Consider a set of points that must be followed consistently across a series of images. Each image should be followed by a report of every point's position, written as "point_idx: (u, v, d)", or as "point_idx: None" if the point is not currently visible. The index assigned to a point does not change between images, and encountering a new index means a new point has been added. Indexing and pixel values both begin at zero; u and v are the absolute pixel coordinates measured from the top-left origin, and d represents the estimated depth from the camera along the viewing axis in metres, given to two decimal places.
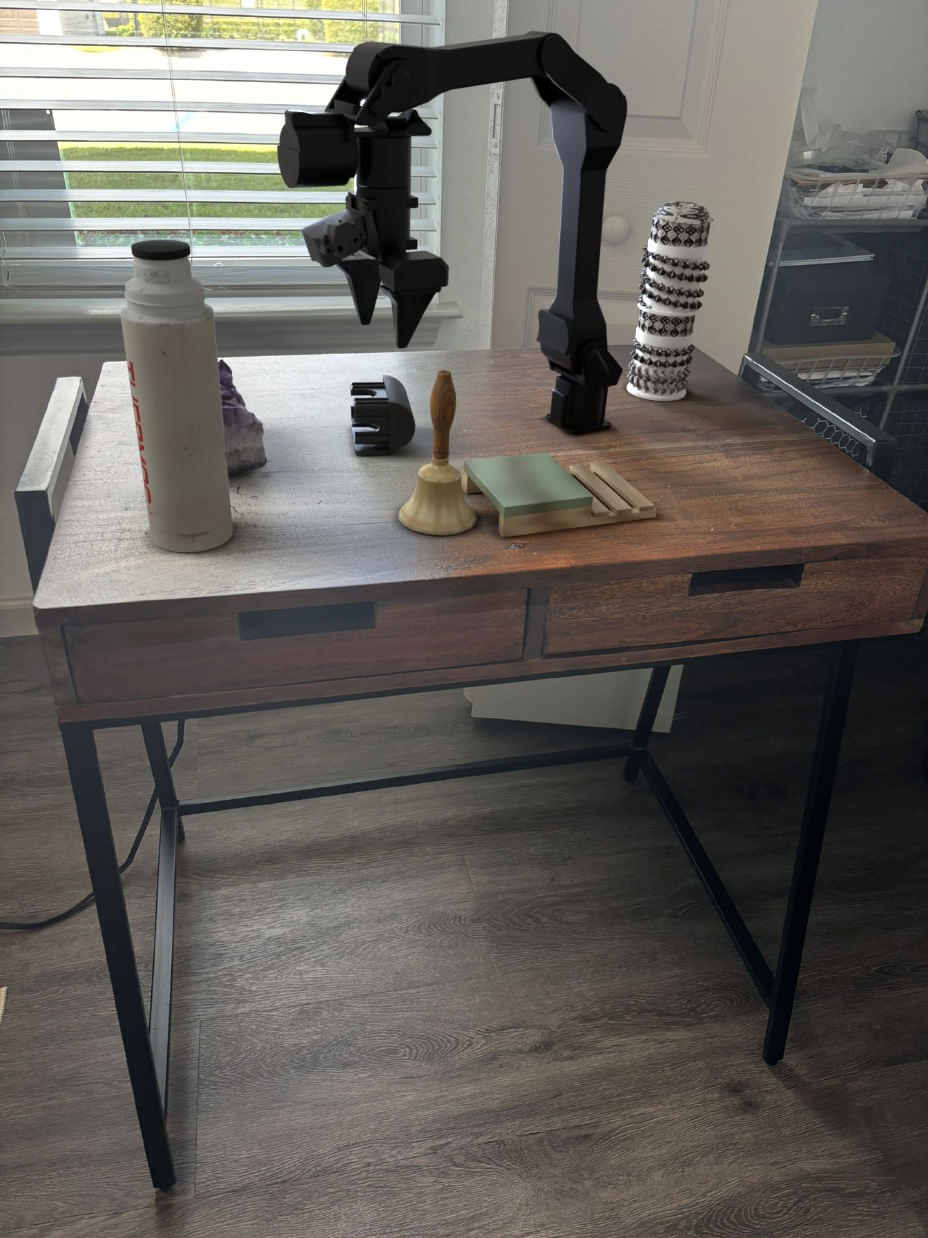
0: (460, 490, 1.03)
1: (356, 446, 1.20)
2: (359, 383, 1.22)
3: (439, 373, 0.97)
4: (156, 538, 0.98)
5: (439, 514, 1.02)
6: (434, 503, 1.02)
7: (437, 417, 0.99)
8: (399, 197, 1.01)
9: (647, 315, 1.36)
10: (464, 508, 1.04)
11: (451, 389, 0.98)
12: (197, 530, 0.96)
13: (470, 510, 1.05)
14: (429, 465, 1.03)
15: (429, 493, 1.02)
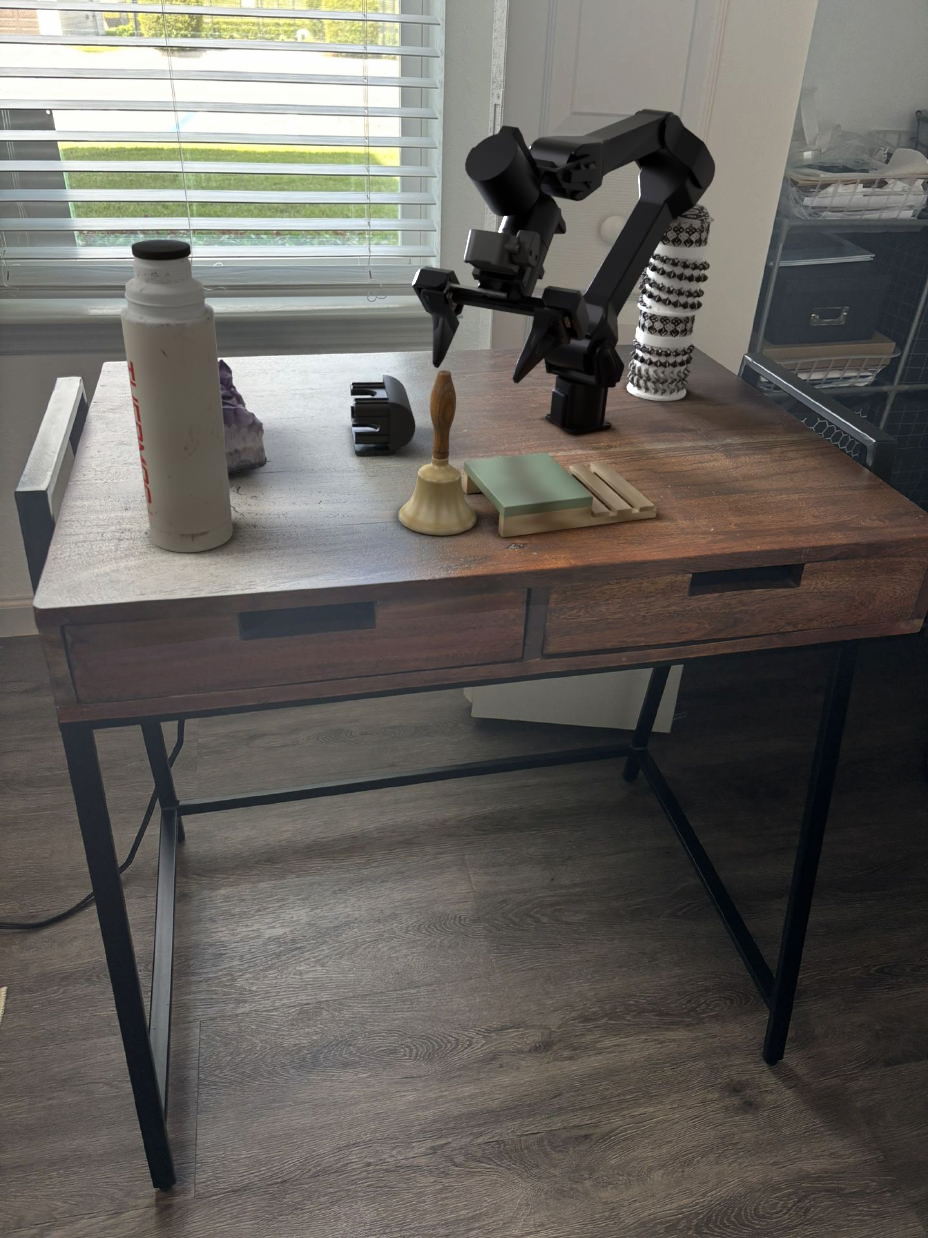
0: (460, 490, 1.03)
1: (356, 446, 1.20)
2: (359, 383, 1.22)
3: (439, 373, 0.97)
4: (156, 538, 0.98)
5: (439, 514, 1.02)
6: (434, 503, 1.02)
7: (437, 417, 0.99)
8: (544, 258, 1.07)
9: (647, 315, 1.36)
10: (464, 508, 1.04)
11: (451, 389, 0.98)
12: (197, 530, 0.96)
13: (470, 510, 1.05)
14: (429, 465, 1.03)
15: (429, 493, 1.02)
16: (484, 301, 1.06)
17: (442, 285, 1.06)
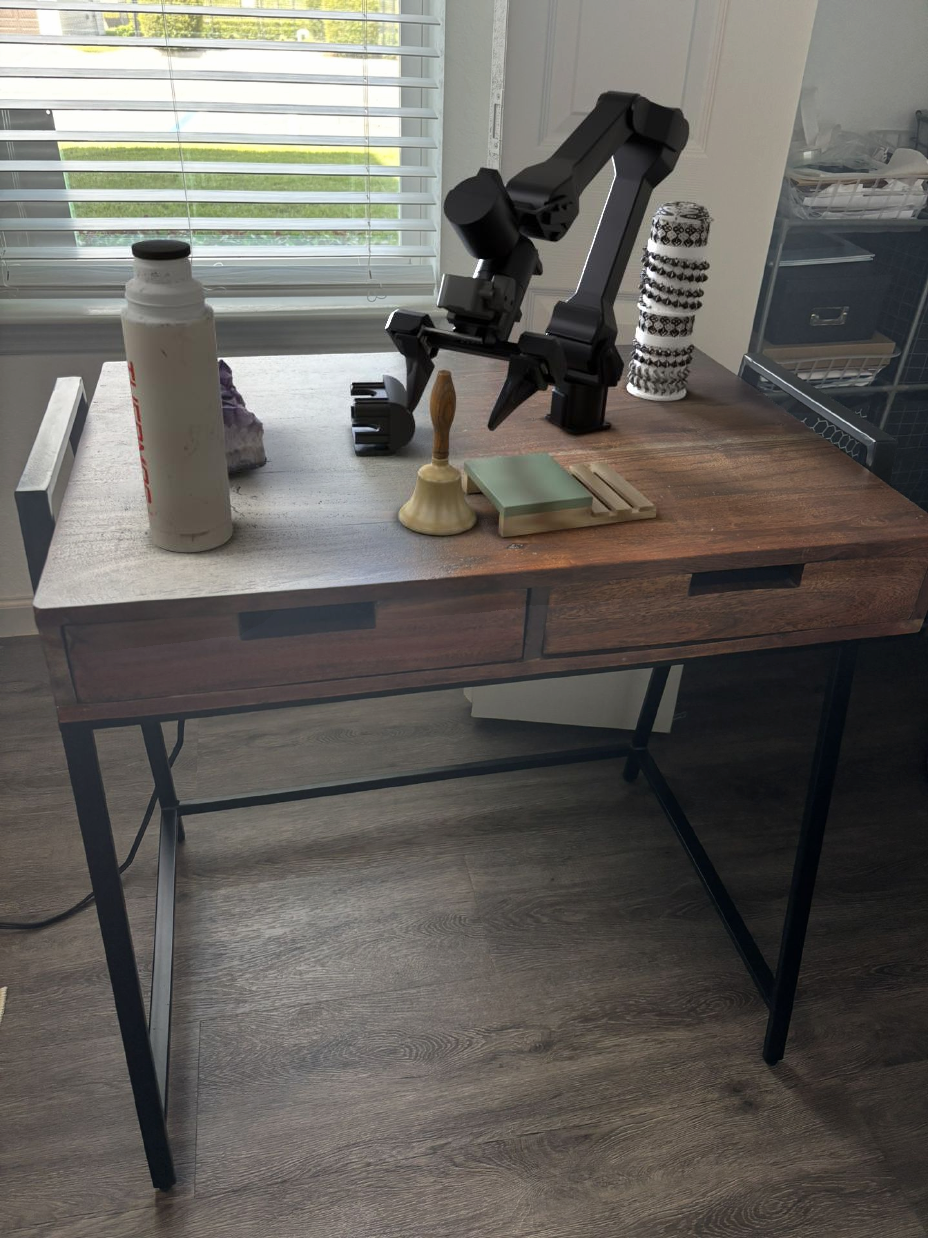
0: (460, 490, 1.03)
1: (356, 446, 1.20)
2: (359, 383, 1.22)
3: (439, 373, 0.97)
4: (156, 538, 0.98)
5: (439, 514, 1.02)
6: (434, 503, 1.02)
7: (437, 417, 0.99)
8: (521, 301, 1.04)
9: (647, 315, 1.36)
10: (464, 508, 1.04)
11: (451, 389, 0.98)
12: (197, 530, 0.96)
13: (470, 510, 1.05)
14: (429, 465, 1.03)
15: (429, 493, 1.02)
16: (459, 345, 1.04)
17: (416, 329, 1.03)
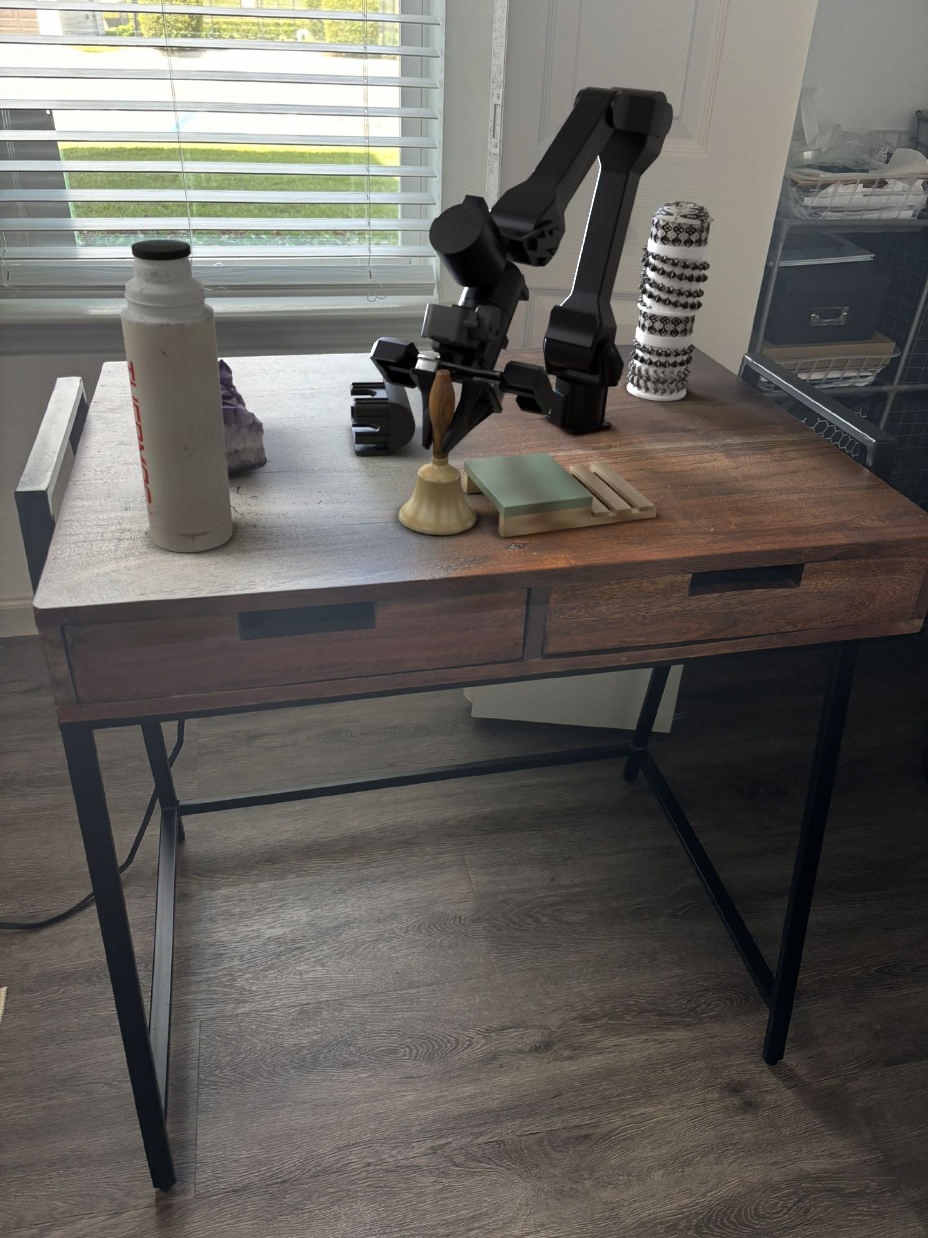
0: (460, 490, 1.03)
1: (356, 446, 1.20)
2: (359, 383, 1.22)
3: (438, 373, 0.97)
4: (156, 538, 0.98)
5: (439, 514, 1.02)
6: (433, 503, 1.02)
7: (436, 416, 0.99)
8: (507, 328, 1.02)
9: (647, 315, 1.36)
10: (464, 508, 1.04)
11: (450, 389, 0.98)
12: (197, 530, 0.96)
13: (470, 510, 1.05)
14: (429, 465, 1.03)
15: (429, 493, 1.02)
16: None
17: (400, 358, 1.01)
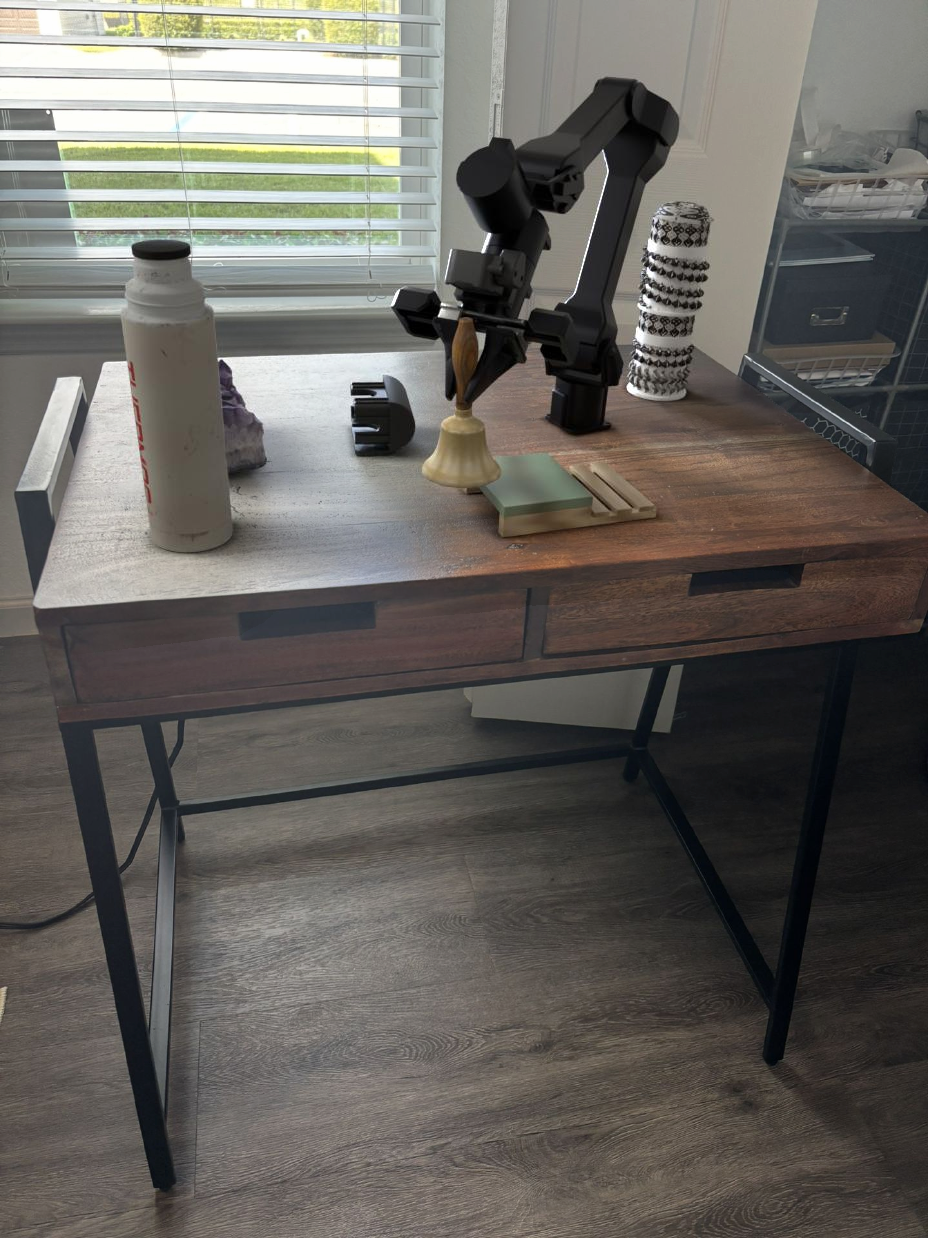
0: (484, 442, 1.02)
1: (356, 446, 1.20)
2: (359, 383, 1.22)
3: (461, 320, 0.95)
4: (156, 538, 0.98)
5: (464, 466, 1.01)
6: (457, 455, 1.01)
7: (459, 366, 0.97)
8: (531, 276, 1.01)
9: (647, 315, 1.36)
10: (488, 460, 1.02)
11: (473, 337, 0.96)
12: (197, 530, 0.96)
13: (495, 463, 1.04)
14: (452, 417, 1.01)
15: (453, 445, 1.00)
16: None
17: (423, 307, 0.99)
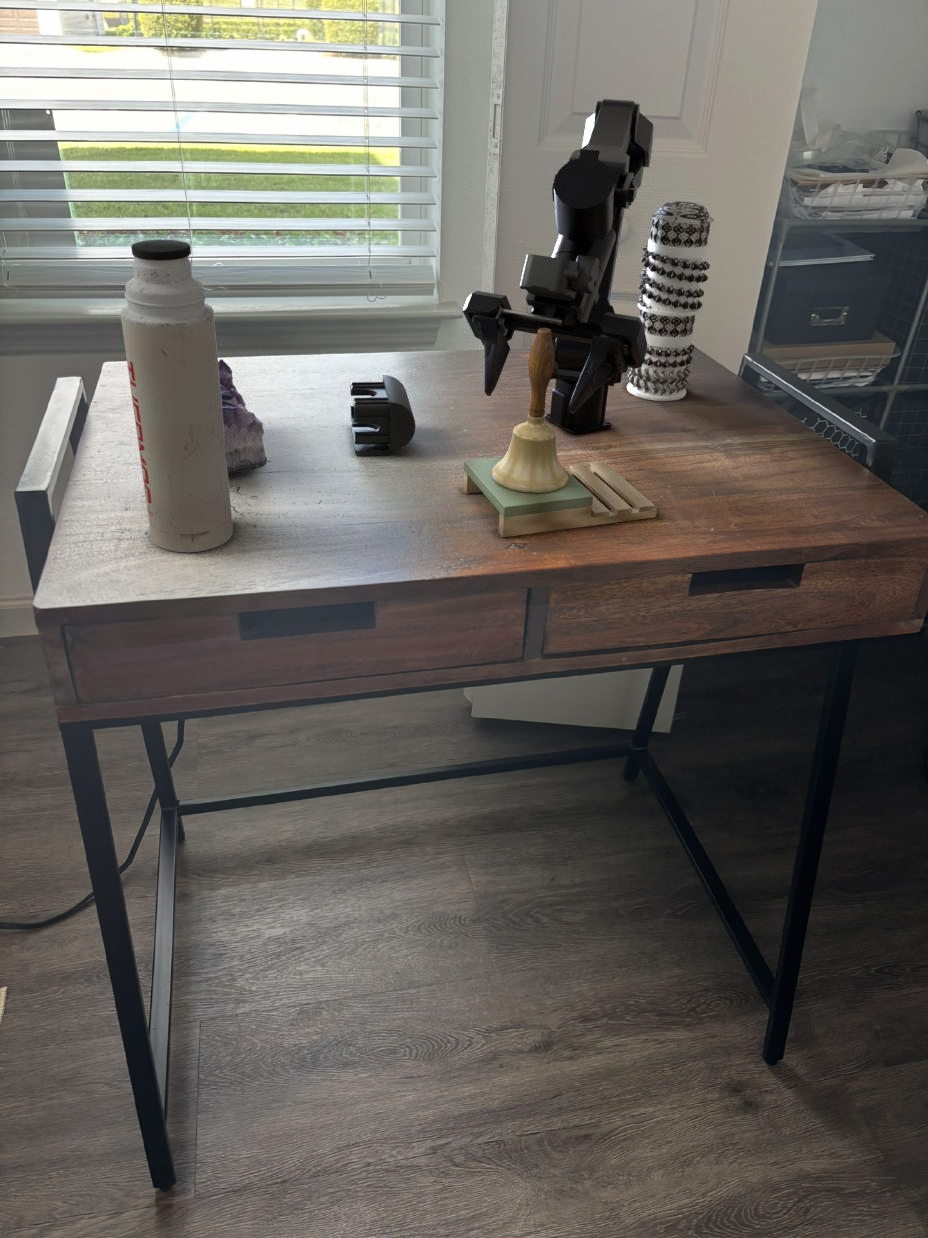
0: (554, 449, 1.05)
1: (356, 446, 1.20)
2: (359, 383, 1.22)
3: (539, 330, 0.98)
4: (156, 538, 0.98)
5: (534, 472, 1.04)
6: (529, 461, 1.04)
7: (535, 374, 1.00)
8: (599, 282, 1.03)
9: (647, 315, 1.36)
10: (557, 467, 1.05)
11: (551, 347, 0.99)
12: (197, 530, 0.96)
13: (562, 469, 1.07)
14: (524, 424, 1.04)
15: (524, 451, 1.03)
16: (537, 327, 1.03)
17: (495, 311, 1.02)
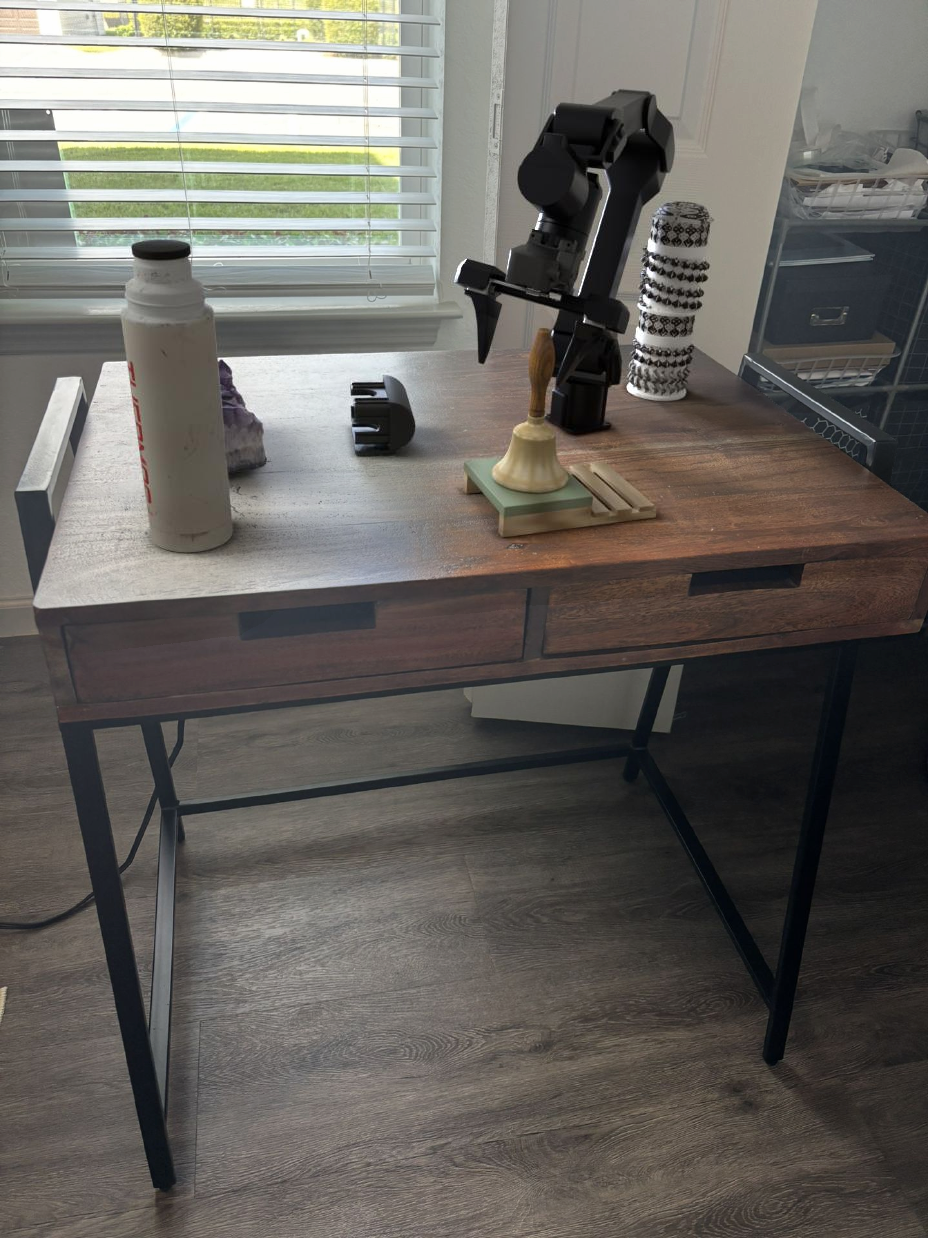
0: (554, 449, 1.05)
1: (356, 446, 1.20)
2: (359, 383, 1.22)
3: (540, 331, 0.98)
4: (156, 538, 0.98)
5: (534, 472, 1.04)
6: (529, 461, 1.04)
7: (536, 374, 1.00)
8: (585, 246, 1.06)
9: (647, 315, 1.36)
10: (557, 467, 1.05)
11: (551, 347, 0.99)
12: (197, 530, 0.96)
13: (562, 469, 1.07)
14: (524, 424, 1.04)
15: (525, 451, 1.03)
16: (526, 296, 1.08)
17: (484, 285, 1.07)
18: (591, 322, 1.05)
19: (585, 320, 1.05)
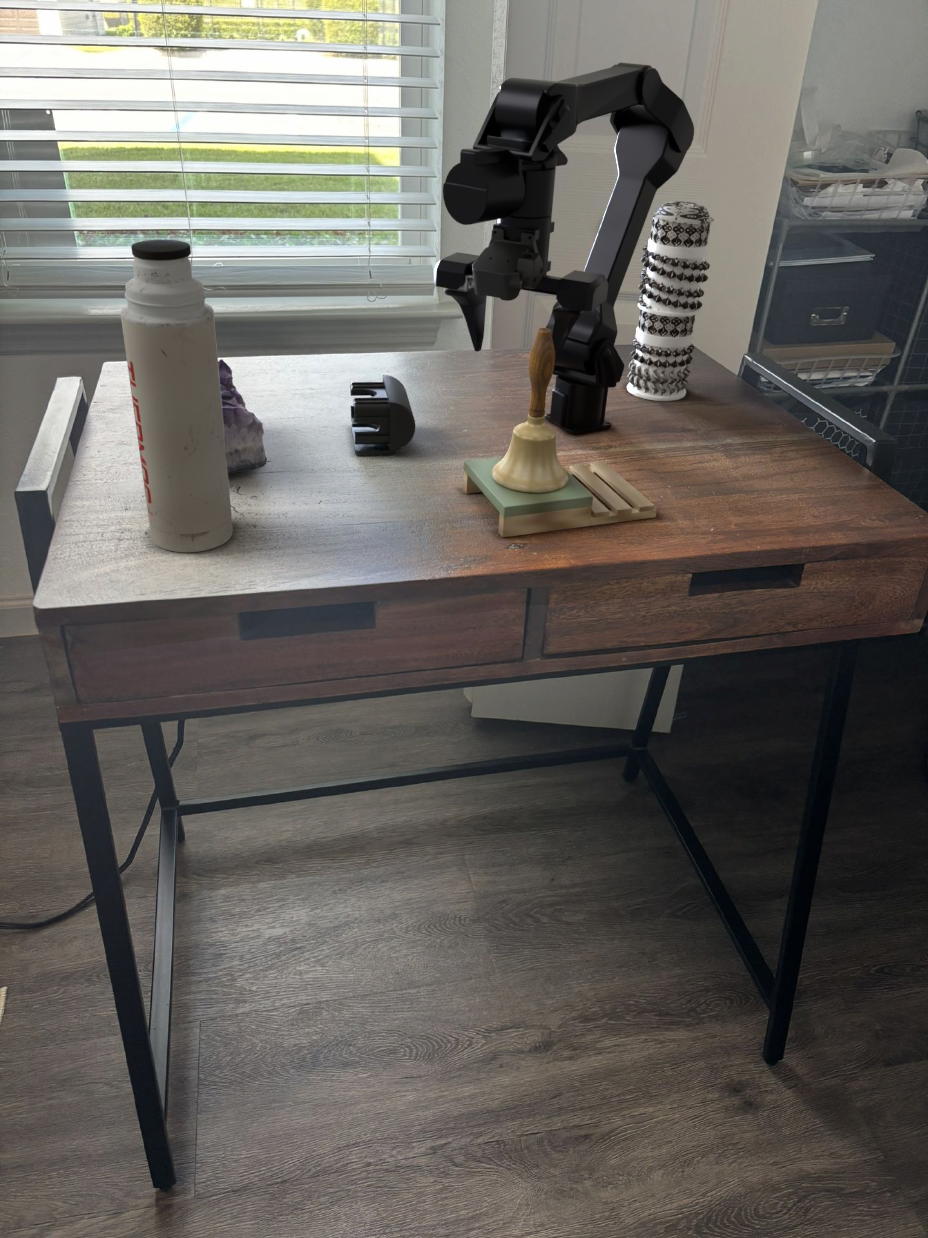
0: (554, 449, 1.05)
1: (356, 446, 1.20)
2: (359, 383, 1.22)
3: (540, 331, 0.98)
4: (156, 538, 0.98)
5: (534, 472, 1.04)
6: (529, 461, 1.04)
7: (536, 374, 1.00)
8: (550, 224, 1.06)
9: (647, 315, 1.36)
10: (557, 467, 1.05)
11: (551, 347, 0.99)
12: (197, 530, 0.96)
13: (562, 469, 1.07)
14: (524, 424, 1.04)
15: (525, 451, 1.03)
16: None
17: (461, 285, 1.10)
18: None
19: None
